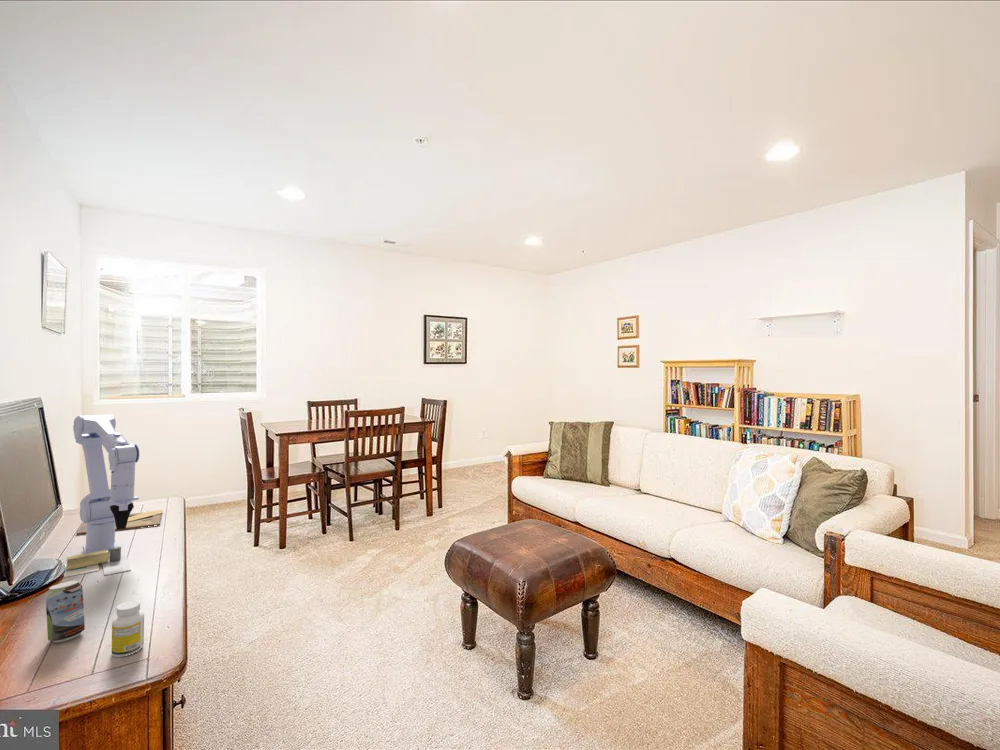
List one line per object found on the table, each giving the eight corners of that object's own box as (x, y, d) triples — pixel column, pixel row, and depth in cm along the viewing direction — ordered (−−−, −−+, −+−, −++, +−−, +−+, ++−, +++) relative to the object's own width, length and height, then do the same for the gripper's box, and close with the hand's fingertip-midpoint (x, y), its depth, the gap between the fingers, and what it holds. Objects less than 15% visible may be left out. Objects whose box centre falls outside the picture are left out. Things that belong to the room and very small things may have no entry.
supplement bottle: (122, 643, 104) (124, 598, 104) (149, 643, 104) (150, 598, 104) (104, 658, 98) (106, 611, 98) (132, 658, 99) (133, 611, 99)
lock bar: (107, 559, 145) (107, 549, 145) (108, 561, 144) (108, 551, 144) (66, 567, 139) (66, 557, 139) (67, 570, 137) (67, 559, 137)
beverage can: (62, 648, 101) (64, 592, 101) (35, 643, 103) (37, 587, 103) (92, 632, 107) (94, 579, 107) (66, 628, 109) (68, 575, 109)
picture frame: (162, 514, 194) (86, 522, 181) (162, 509, 194) (86, 517, 181) (159, 527, 178) (76, 537, 166) (159, 522, 178) (76, 532, 166)
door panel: (64, 564, 142) (65, 551, 142) (126, 553, 152) (126, 541, 152) (63, 583, 130) (64, 569, 130) (130, 570, 140) (131, 557, 140)
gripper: (141, 487, 144) (139, 532, 144) (137, 478, 155) (135, 520, 155) (110, 490, 139) (109, 537, 139) (109, 480, 150) (107, 523, 150)
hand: (121, 528), depth 147 cm, fingers closed
